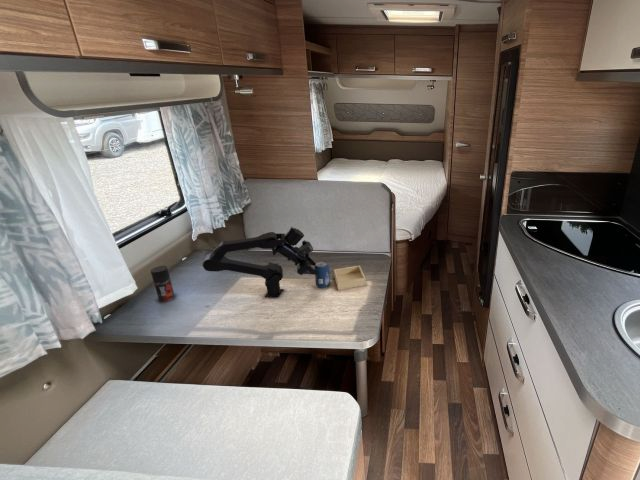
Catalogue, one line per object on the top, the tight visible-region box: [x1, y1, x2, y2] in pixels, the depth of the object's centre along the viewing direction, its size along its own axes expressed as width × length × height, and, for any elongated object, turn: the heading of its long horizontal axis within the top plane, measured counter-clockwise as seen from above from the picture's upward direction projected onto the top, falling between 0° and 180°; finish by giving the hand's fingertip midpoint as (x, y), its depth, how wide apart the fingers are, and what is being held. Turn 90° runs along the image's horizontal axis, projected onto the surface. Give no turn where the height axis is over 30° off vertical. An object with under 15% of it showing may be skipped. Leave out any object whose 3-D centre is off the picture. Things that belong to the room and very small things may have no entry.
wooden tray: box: [333, 265, 367, 291], centre depth 169 cm, size 14×14×4 cm
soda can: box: [313, 260, 331, 290], centre depth 163 cm, size 7×7×12 cm
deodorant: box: [150, 265, 176, 303], centre depth 150 cm, size 6×6×15 cm
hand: (316, 269), depth 161 cm, fingers open, 9 cm apart
